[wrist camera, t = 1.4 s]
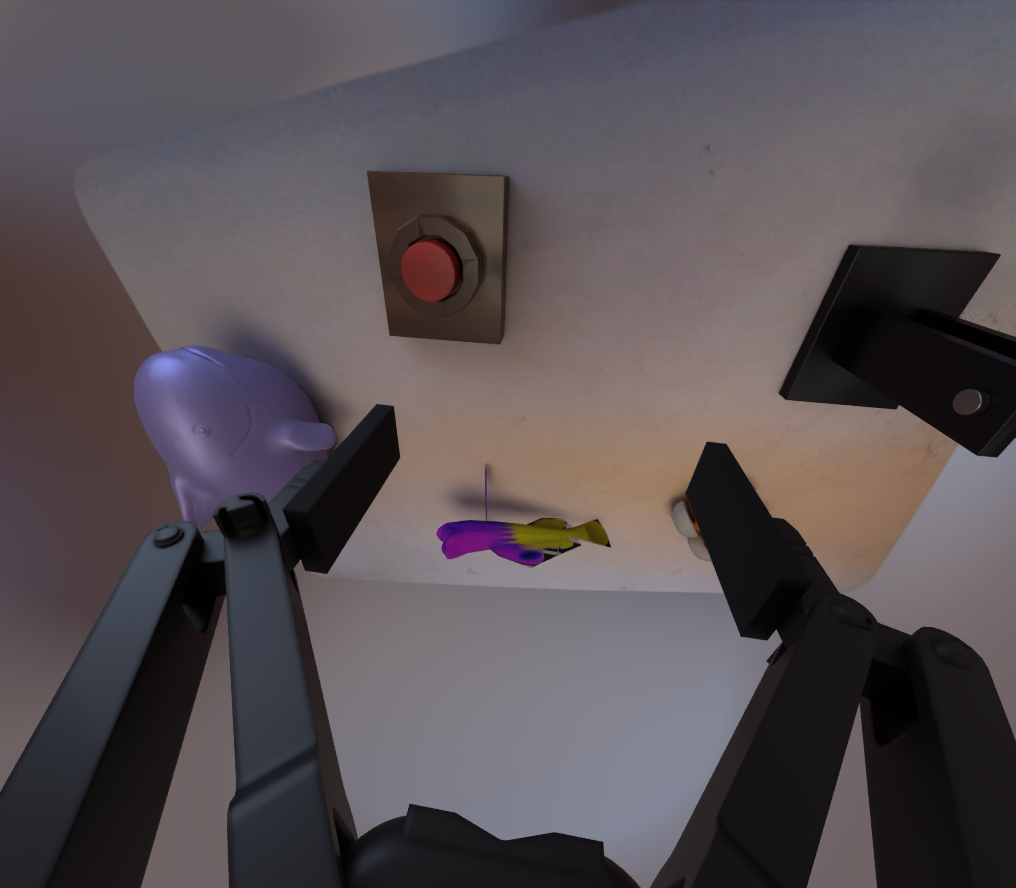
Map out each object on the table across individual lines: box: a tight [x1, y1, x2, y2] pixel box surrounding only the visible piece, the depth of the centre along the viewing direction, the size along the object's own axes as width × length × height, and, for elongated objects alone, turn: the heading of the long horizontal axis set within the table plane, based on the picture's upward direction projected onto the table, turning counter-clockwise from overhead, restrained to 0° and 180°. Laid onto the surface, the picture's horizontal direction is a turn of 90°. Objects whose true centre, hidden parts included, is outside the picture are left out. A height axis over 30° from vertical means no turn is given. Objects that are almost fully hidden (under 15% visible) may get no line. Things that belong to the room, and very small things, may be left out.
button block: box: [367, 170, 509, 344], centre depth 31 cm, size 12×10×4 cm
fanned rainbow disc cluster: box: [672, 487, 759, 561], centre depth 40 cm, size 8×10×7 cm
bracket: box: [779, 245, 1016, 457], centre depth 25 cm, size 12×9×15 cm
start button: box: [401, 239, 460, 301], centre depth 29 cm, size 4×4×2 cm
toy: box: [436, 464, 611, 568], centre depth 43 cm, size 12×19×10 cm, turn 85°
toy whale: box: [134, 346, 337, 530], centre depth 38 cm, size 14×25×16 cm, turn 10°
